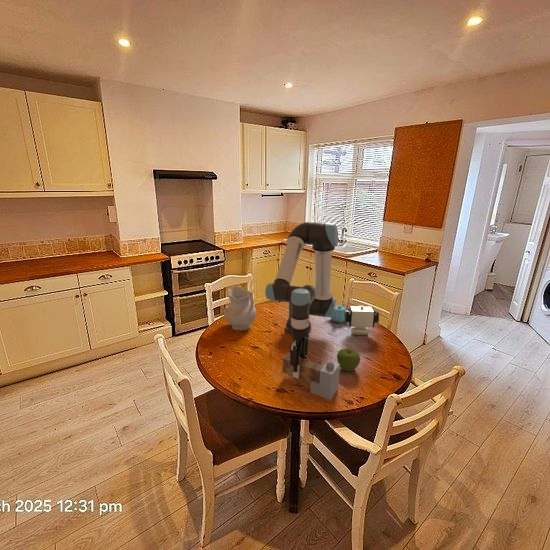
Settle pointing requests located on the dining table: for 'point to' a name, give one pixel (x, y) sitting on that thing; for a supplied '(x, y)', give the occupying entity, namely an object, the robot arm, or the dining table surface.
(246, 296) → the ceramic pitcher
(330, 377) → the grey two-prong block
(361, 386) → the dining table surface
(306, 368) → the rail
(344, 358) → the apple
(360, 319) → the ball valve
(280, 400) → the dining table surface
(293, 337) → the robot arm
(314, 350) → the dining table surface
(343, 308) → the teapot
